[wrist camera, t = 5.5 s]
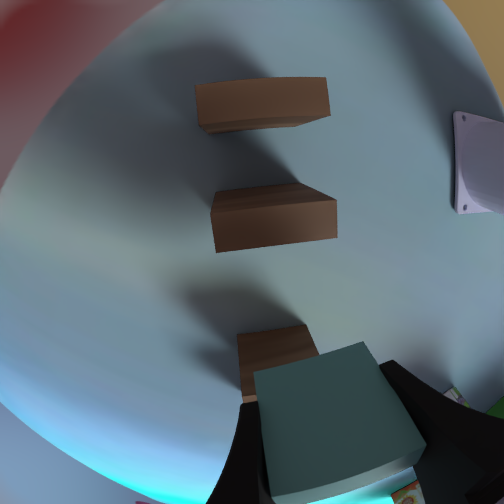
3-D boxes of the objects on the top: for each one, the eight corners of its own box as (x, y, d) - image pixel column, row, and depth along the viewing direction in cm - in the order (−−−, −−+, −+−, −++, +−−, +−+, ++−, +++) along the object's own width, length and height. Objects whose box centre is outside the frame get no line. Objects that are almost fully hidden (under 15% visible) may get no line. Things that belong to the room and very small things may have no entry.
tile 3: (237, 334, 20) (242, 396, 14) (306, 324, 20) (330, 381, 15) (239, 351, 20) (245, 413, 15) (306, 341, 21) (328, 398, 15)
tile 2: (216, 191, 16) (210, 213, 11) (300, 182, 17) (336, 199, 11) (219, 218, 17) (216, 253, 11) (302, 208, 17) (337, 237, 12)
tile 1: (206, 108, 15) (194, 85, 9) (292, 100, 15) (326, 77, 9) (208, 134, 15) (199, 125, 10) (295, 126, 16) (330, 115, 10)
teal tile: (362, 365, 12) (416, 463, 7) (261, 394, 12) (279, 509, 7) (363, 341, 12) (426, 444, 6) (253, 372, 12) (271, 497, 6)
